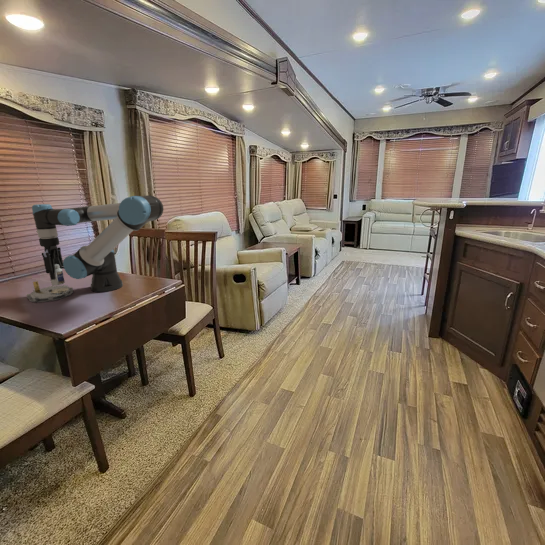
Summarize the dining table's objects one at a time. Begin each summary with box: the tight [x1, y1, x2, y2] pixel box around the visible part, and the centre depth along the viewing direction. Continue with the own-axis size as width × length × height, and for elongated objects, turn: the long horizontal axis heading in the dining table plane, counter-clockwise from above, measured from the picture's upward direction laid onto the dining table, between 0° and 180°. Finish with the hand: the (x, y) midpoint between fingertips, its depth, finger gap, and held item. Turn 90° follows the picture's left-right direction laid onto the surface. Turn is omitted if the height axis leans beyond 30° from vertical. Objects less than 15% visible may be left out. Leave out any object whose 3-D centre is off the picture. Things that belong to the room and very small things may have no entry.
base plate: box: [28, 290, 74, 303], centre depth 147 cm, size 18×18×1 cm
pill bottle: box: [48, 264, 66, 286], centre depth 145 cm, size 5×5×10 cm
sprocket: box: [26, 280, 74, 301], centre depth 146 cm, size 18×18×7 cm
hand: (58, 283), depth 146 cm, fingers closed on pill bottle, 5 cm apart
